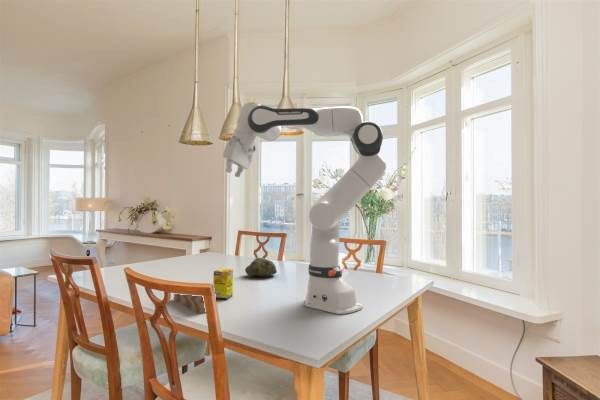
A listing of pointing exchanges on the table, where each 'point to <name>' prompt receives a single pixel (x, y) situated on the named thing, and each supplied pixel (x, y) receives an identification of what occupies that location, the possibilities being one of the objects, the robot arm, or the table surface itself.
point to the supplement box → (223, 283)
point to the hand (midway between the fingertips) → (232, 174)
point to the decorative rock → (261, 268)
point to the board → (191, 302)
